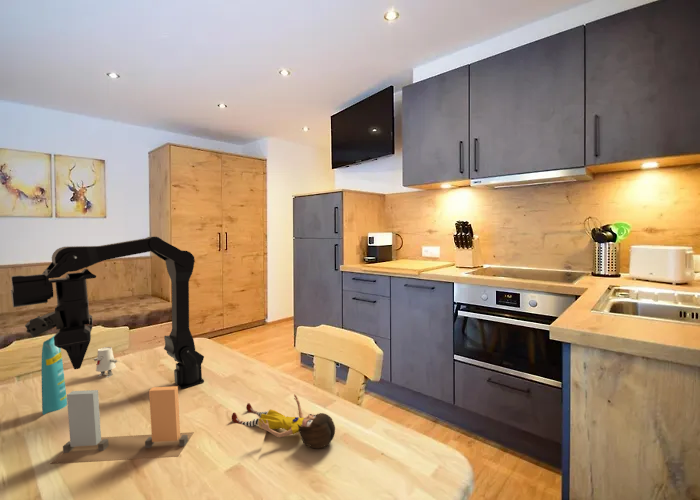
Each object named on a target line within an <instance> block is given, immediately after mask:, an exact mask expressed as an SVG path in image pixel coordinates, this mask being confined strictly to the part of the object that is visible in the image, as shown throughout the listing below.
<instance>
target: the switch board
mask: <svg viewBox="0 0 700 500" xmlns="http://www.w3.org/2000/svg"><path fill="white" fill-rule="evenodd" d="M194 433H195V432H194V431H191V432H180V437H179V439H178V440H177V441H161V442H152V434H136V435H120V436H118V435H117V436H101V441H100V442H99V443H98V444H97V445H91V446H74V447H71V446H70V440H69V441H67V442H66V443H65V444H64V445H62V453H61V454H59V456H57V457H56V458H55V459H53V461H51V462H50V465H56V464H73V463H89V462H90V463H91V462H106V461H108V462H109V461H122V460H123V461H124V460H125V461H126V460H137V459H138V460H139V459H155V458H156V459H157V458H158V459H159V458H175V457H176V458H177V457H180V455H181V453H182V452H183V450H184V449H185V447H186V445H187V444H188V442H189V441H190V439H191V437H193V434H194Z"/></svg>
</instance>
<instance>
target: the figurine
mask: <svg viewBox="0 0 700 500" xmlns="http://www.w3.org/2000/svg"><path fill="white" fill-rule="evenodd" d="M293 396H294V398H293V399H294V400H295V402H296V405H297V410H298V416H297V417H296V416H285V415H284V414H283V413H280V412H278V411H276V410H275V409H268V410H267V411H256V410H254V409H253V406H252V405H251V404H250V403H249V402H247V404H246V407H245V408H246V410H247V412H249V413H252V414H256V415H258V416H259V417H260V418H254V419H252V420H249V421H248V420H247V421H243V420H240V419H239V418H238V415H237V413H236V412H233V413H232V414H231V421H232V423H235V424H239V425H244V426H247V427H254V426H256V425H257V426H258V428H259V429H261V430H264V431H267V432H269V433H270V434H272V435H273V436H275V437H277V438H284V437H287V436H290V435H292V436H293V435H295V434H299V436H300V439H301V440H302V443H303V444H304V445H305V446H306V447H308V448H311V449H314V450H315V449H316V450H322V449H324V448H326V447H328V446H329V445H330V444H331V442H332V441H333V439H334V436H335V432H336V426H335V423H334V420H333V418H332V417H331V416H330V415H328V414H327V413H323V412H322V413H321V412H318V413H317V414H315V413H314V414H312V413H309V414H308V415H307V416H305V417H304V413H303V412H302V407H301V404H300V400H299V397H298V396H297V395H296V394H295V393H294V394H293ZM281 429H282V430H286V431H281V432H278V431H276V430H281Z"/></svg>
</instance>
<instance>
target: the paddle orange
mask: <svg viewBox="0 0 700 500" xmlns="http://www.w3.org/2000/svg"><path fill="white" fill-rule="evenodd" d="M148 393H149V408H150V409H149V410H150V427H151V429H150V430H151V435H152V442H161V441H177V440H178V439H179V437H180V433H181V425H180V424H181V423H180V405H179V402H180V401H179V386H178V385H175V386H172V385H171V386H154V387H152V388H150V389H149V390H148Z"/></svg>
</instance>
